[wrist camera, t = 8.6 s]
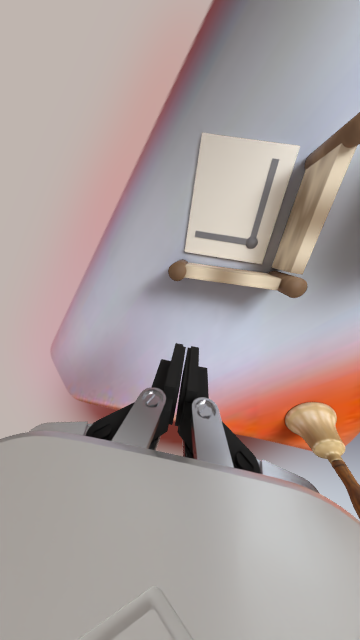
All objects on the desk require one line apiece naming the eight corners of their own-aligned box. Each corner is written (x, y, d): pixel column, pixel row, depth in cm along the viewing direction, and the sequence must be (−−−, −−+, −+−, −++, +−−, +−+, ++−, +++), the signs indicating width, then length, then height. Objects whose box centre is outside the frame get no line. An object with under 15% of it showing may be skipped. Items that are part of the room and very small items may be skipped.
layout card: (202, 134, 18) (201, 132, 17) (298, 147, 17) (300, 145, 17) (184, 251, 22) (184, 251, 22) (261, 264, 22) (262, 264, 22)
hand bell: (276, 427, 33) (339, 572, 18) (298, 396, 29) (396, 543, 15) (318, 438, 33) (416, 592, 18) (345, 408, 29) (490, 567, 15)
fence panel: (265, 270, 22) (287, 277, 16) (260, 284, 23) (280, 295, 17) (176, 258, 23) (169, 261, 17) (175, 272, 23) (167, 279, 18)
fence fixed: (308, 150, 17) (358, 104, 12) (328, 152, 17) (388, 108, 12) (262, 284, 23) (282, 296, 17) (277, 287, 23) (302, 299, 17)
